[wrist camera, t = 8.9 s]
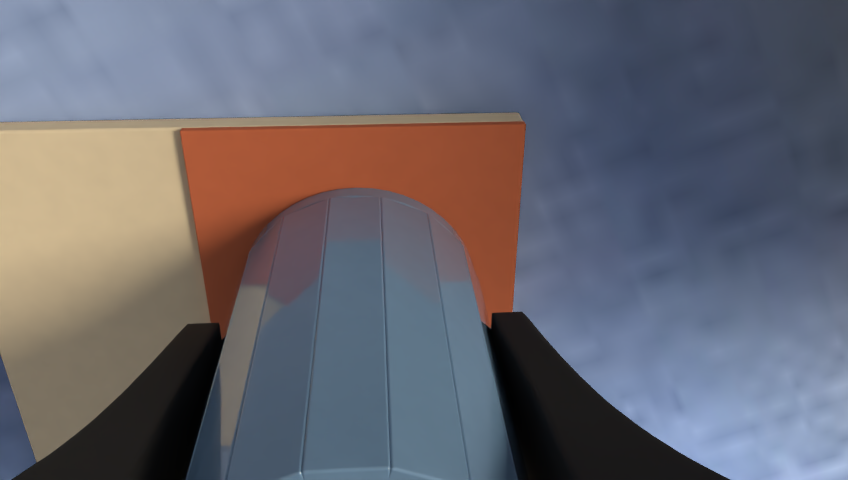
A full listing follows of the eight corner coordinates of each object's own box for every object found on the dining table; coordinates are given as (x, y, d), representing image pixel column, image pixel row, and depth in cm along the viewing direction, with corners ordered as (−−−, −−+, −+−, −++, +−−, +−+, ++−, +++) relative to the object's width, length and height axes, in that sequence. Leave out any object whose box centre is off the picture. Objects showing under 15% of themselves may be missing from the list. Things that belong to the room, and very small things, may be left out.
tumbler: (479, 183, 16) (569, 458, 9) (471, 379, 18) (536, 714, 11) (227, 189, 16) (114, 480, 9) (254, 388, 18) (184, 737, 11)
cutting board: (519, 111, 16) (526, 124, 15) (481, 670, 26) (484, 694, 25) (-61, 122, 15) (-81, 136, 15) (124, 693, 25) (117, 718, 24)
